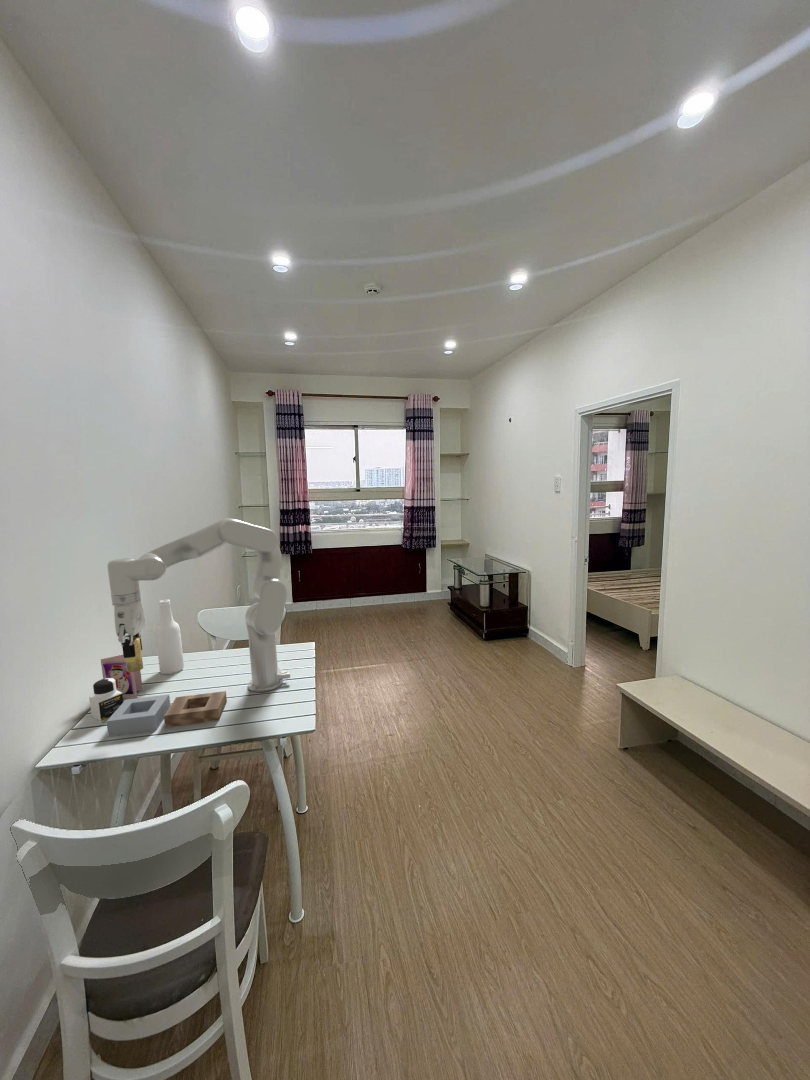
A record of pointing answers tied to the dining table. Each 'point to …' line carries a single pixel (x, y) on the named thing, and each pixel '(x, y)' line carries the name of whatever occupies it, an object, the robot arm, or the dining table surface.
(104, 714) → the medicine bottle
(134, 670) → the brass axle
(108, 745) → the dining table surface
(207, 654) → the dining table surface
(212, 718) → the brown hollow frame
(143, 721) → the slate seat block
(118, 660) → the greeting card
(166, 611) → the alcohol
